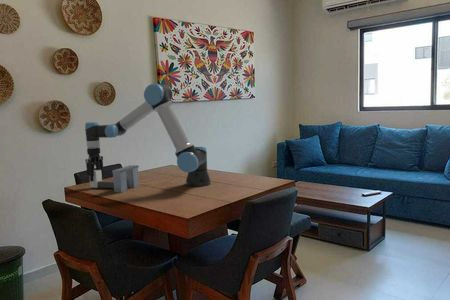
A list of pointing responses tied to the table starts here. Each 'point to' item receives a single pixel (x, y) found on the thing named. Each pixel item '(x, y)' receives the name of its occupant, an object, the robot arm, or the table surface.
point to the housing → (125, 178)
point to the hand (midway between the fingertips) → (96, 185)
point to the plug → (99, 181)
